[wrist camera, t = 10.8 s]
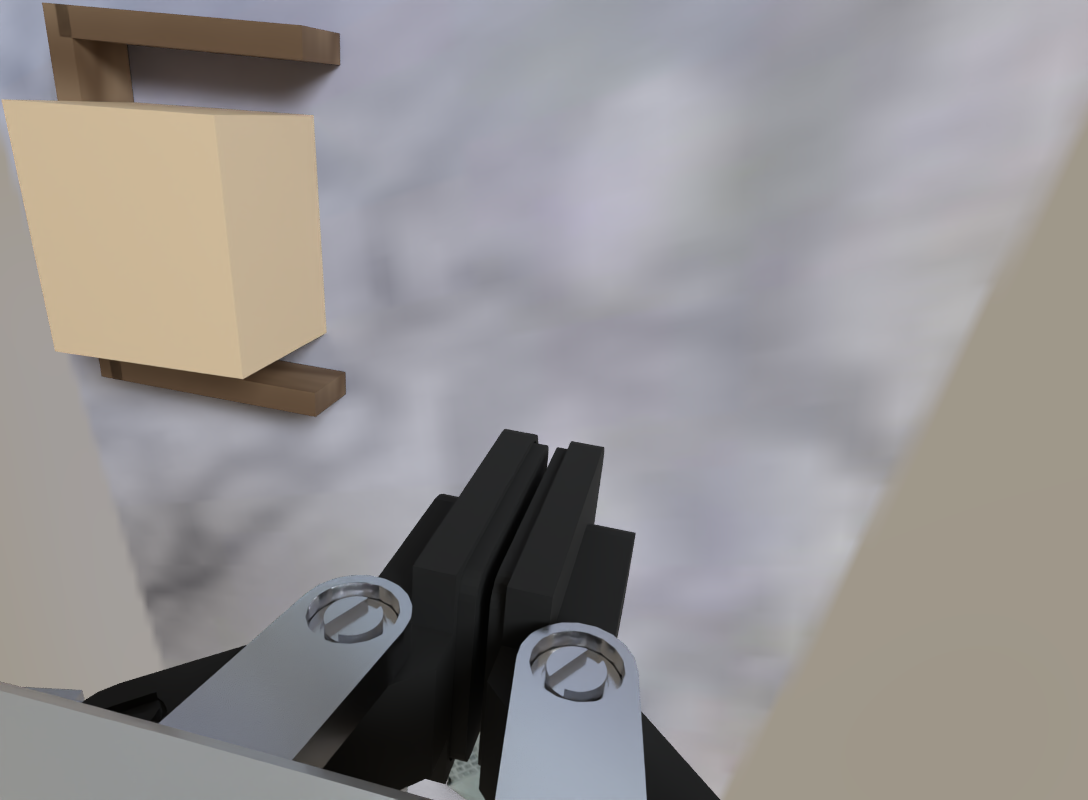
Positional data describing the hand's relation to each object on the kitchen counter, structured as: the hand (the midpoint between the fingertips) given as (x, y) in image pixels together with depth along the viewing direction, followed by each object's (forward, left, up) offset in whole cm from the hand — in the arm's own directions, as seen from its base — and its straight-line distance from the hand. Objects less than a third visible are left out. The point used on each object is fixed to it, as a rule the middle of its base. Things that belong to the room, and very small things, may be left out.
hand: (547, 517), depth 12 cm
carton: (0, -20, -21) cm, 29 cm away
